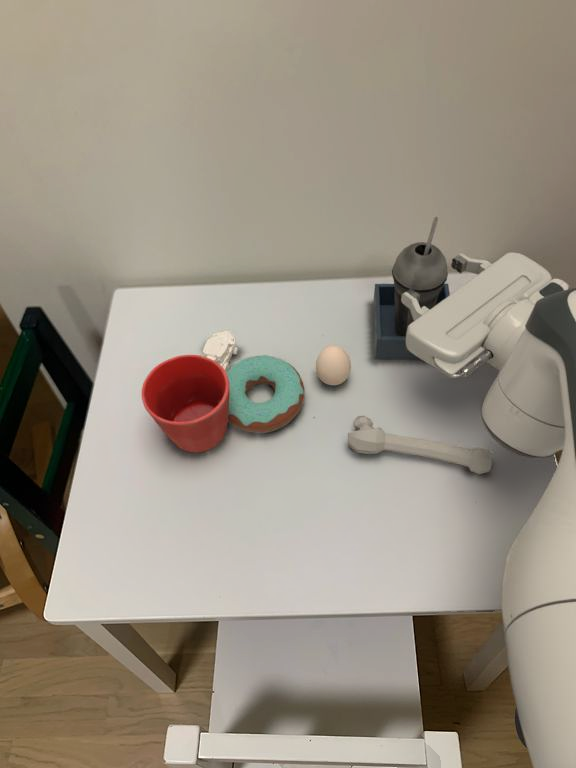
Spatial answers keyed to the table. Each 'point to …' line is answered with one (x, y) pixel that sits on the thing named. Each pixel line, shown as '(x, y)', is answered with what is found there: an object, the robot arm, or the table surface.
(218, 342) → the toy car
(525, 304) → the robot arm
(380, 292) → the freezer basket
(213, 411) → the flower pot
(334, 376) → the egg
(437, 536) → the table surface
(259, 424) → the donut
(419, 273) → the beverage cup
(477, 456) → the bone
